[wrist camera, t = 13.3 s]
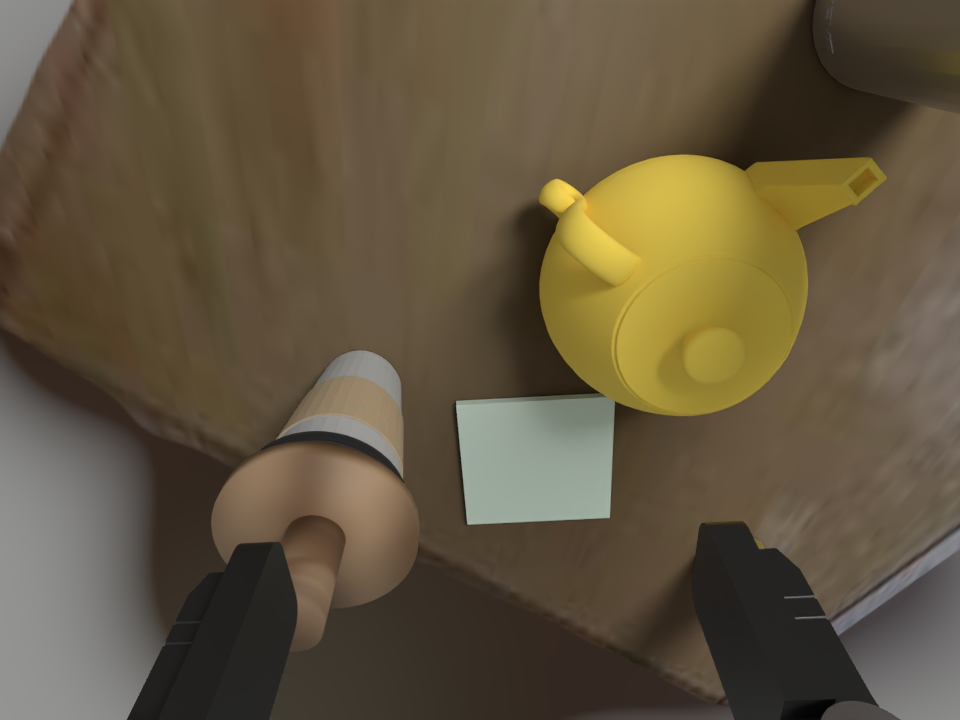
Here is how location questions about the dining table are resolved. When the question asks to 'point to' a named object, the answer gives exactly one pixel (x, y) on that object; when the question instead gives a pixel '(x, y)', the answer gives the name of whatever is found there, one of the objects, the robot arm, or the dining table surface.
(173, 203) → the dining table surface
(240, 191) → the dining table surface
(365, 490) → the lid
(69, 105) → the dining table surface
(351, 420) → the coffee cup
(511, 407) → the mat
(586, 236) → the teapot
